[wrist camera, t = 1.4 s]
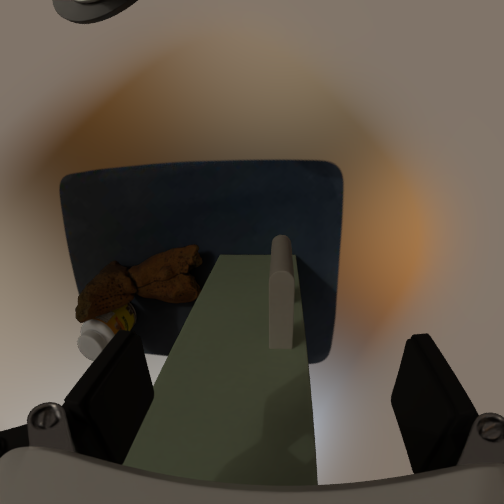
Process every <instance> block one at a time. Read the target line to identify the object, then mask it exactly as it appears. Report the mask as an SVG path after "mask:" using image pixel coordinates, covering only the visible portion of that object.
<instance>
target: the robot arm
mask: <svg viewBox="0 0 504 504" xmlns="http://www.w3.org/2000/svg"><path fill="white" fill-rule="evenodd" d="M73 1H75V2H78V3H91V2H96V1H98V0H73ZM153 399H154V389H153V385H152V382H151V377H150V374H149V370H148V366H147V362H146V358H145V354H144V349H143V345H142V341H141V338H140V336H137V334H136V333H135V332H134V331H127V330H119V331H118V332H117V333H116V334H115V335H114V337H113V338H112V339H111V340H110V342H109V343H108V344H107V345H106V347H105V348H104V349H103V350H102V352H101V353H100V354H99V355H98V357H97V358H96V359H95V360H94V362H93V363H92V364H91V366H90V367H89V368H88V369H87V371H86V372H85V373H84V374H83V376H82V377H81V378H80V379H79V381H78V382H77V383H76V385H75V386H74V387H73V389H72V390H71V391H70V393H69V394H68V395H67V396H66V398H65V399H64V401H65V403H64V404H63V405H62V406H61V405H59V404H57V403H52V402H48V403H43V404H40V405H38V406H36V407H34V408H33V409H32V411H30V413H29V415H28V418H27V424H25V425H22V426H19V427H15V428H11V429H8V430H4V431H0V504H504V417H502V416H501V415H498V414H496V413H484V414H481V415H478V413H477V411H476V409H475V407H474V406H473V404H472V402H471V400H470V399H469V397H468V395H467V393H466V392H465V390H464V388H463V387H462V385H461V384H460V382H459V380H458V379H457V377H456V375H455V374H454V372H453V371H452V369H451V367H450V366H449V364H448V363H447V361H446V359H445V358H444V356H443V355H442V353H441V352H440V350H439V349H438V347H437V346H436V344H435V343H434V341H433V340H432V338H431V337H430V335H429V334H427V333H426V334H414V335H412V337H411V339H408V340H407V341H406V345H405V349H404V353H403V357H402V360H401V364H400V368H399V371H398V375H397V378H396V382H395V385H394V389H393V392H392V396H391V404H392V407H393V410H394V413H395V416H396V419H397V422H398V425H399V428H400V431H401V434H402V437H403V441H404V444H405V447H406V450H407V454H408V457H409V460H410V464H411V467H412V470H413V473H414V474H412V475H406V476H401V477H394V478H387V479H381V480H373V481H365V482H355V483H344V484H330V485H306V486H272V485H249V484H234V483H223V482H214V481H205V480H198V479H190V478H184V477H178V476H172V475H166V474H161V473H156V472H151V471H146V470H142V469H137V468H133V467H129V466H124V465H122V464H123V463H124V461H125V459H126V457H127V455H128V452H129V450H130V448H131V446H132V444H133V442H134V440H135V437H136V435H137V433H138V431H139V429H140V427H141V425H142V423H143V420H144V418H145V416H146V414H147V412H148V410H149V408H150V406H151V404H152V402H153Z"/></svg>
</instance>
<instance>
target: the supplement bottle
mask: <svg viewBox="0 0 504 504" xmlns="http://www.w3.org/2000/svg"><path fill="white" fill-rule="evenodd" d="M135 322H136V312H135V309H134V307H133V306H132V304H131V303H130V302H129V303H128V304H127V305H125V306H123V307H121V308H119V309H116V310H113V311H111V312H109V313H107V314H103V315H100V316H97V317H96V318H93V319H91V320H88V321H86V322H84V324H83V325H82V327H81V336H80V337H79V338H78V341H77V345H78V348H79V350H80V352H81V353H82V354H83V355H84V356H85V357H86V358H88V359H90V360H92V361H94V360H95V359H96V358H97V357H98V355H99V354H100V353H101V352H102V350H103V349H104V348H105V347H106V345H107V344H108V343H109V342H110V340H111V339H112V338H113V337H114V335H115V334H116V333H117V332H118V331H119V330H127V331H130V330H131V329H132V327H133V326H134V324H135Z"/></svg>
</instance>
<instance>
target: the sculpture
mask: <svg viewBox="0 0 504 504" xmlns="http://www.w3.org/2000/svg"><path fill="white" fill-rule="evenodd" d="M198 250H199V247H198V245H195V244H194V245H188V246H186V247H182V248H173V249H170V250H168V251H166V252H162V253H159V254H156V255H153V256H151V257H150V258H148V259H147V260H145V261H144V262H142V263H141V264H139V265H136V266H132V267H131V268H130V269H129V268H127V267H124V266H121V265H120V264H119V263H118V262H117V261H112V262H111V263H110V264H108V265H107V266H105V267H104V268H103V269H102V270H101V271H100V273H99V274H98V275H96V276H95V278H94V279H93V280H92V281H91V282H89V283H88V284H87V285H86V287H85V289H84V290H83V291H82V292H81V293H80V295H79V296H78V305H77V307H76V309H75V311H76V319H77V320H78V321H79V322H80V323H83V322H86V321H88V320H91V319H93V318H96V317H97V316H100V315H103V314H107V313H109V312H111V311H113V310H116V309H119V308H121V307H123V306H125V305H127V304H128V303H129V302H130V301H131V300H133V299H134V295H135V294H138V295H139V296H142V297H144V298H154V299H159V300H162V301H165V302H168V303H185V302H191V301H194V300H195V299H196V298H197V297H198V296H199V294H200V292H201V289H200V286H199V285H198V284H197V282H196V281H195V277H194V276H193V275H191V274H190V273H189V271H190V270H191V269H193V268H197V267H198V266H200V265H201V264H202V259H201V257H200V254H199V253H198Z"/></svg>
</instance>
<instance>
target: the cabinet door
mask: <svg viewBox="0 0 504 504" xmlns="http://www.w3.org/2000/svg"><path fill="white" fill-rule="evenodd" d="M153 389H154V399H153V402H152V404H151V406H150V408H149V410H148V412H147V414H146V416H145V418H144V420H143V423H142V425H141V427H140V429H139V431H138V433H137V435H136V437H135V440H134V442H133V444H132V446H131V448H130V450H129V452H128V455H127V457H126V459H125V461H124V463H123V464H122V465H124V466H129V467H133V468H137V469H142V470H146V471H151V472H156V473H161V474H166V475H172V476H178V477H184V478H190V479H198V480H205V481H214V482H223V483H234V484H249V485H272V486H306V485H318V481H317V465H316V449H315V435H314V422H313V409H312V400H311V387H310V376H309V366H308V356H307V346H306V337H305V328H304V319H303V310H302V302H301V293H300V285H299V277H298V269H297V262H296V255H292V249H291V241H290V239H289V238H288V237H287V236H285V235H278V236H276V237H275V238H274V239H273V241H272V249H271V255H220V256H219V258H218V260H217V262H216V264H215V266H214V267H213V269H212V271H211V273H210V275H209V277H208V279H207V281H206V283H205V285H204V287H203V289H202V291H201V292H200V294H199V296H198V298H197V300H196V302H195V304H194V306H193V308H192V310H191V312H190V314H189V316H188V318H187V320H186V322H185V324H184V326H183V328H182V330H181V332H180V334H179V336H178V337H177V339H176V341H175V343H174V345H173V347H172V349H171V351H170V353H169V355H168V357H167V359H166V361H165V364H164V365H163V367H162V370H161V372H160V374H159V376H158V378H157V380H156V382H155V384H154V386H153Z"/></svg>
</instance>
